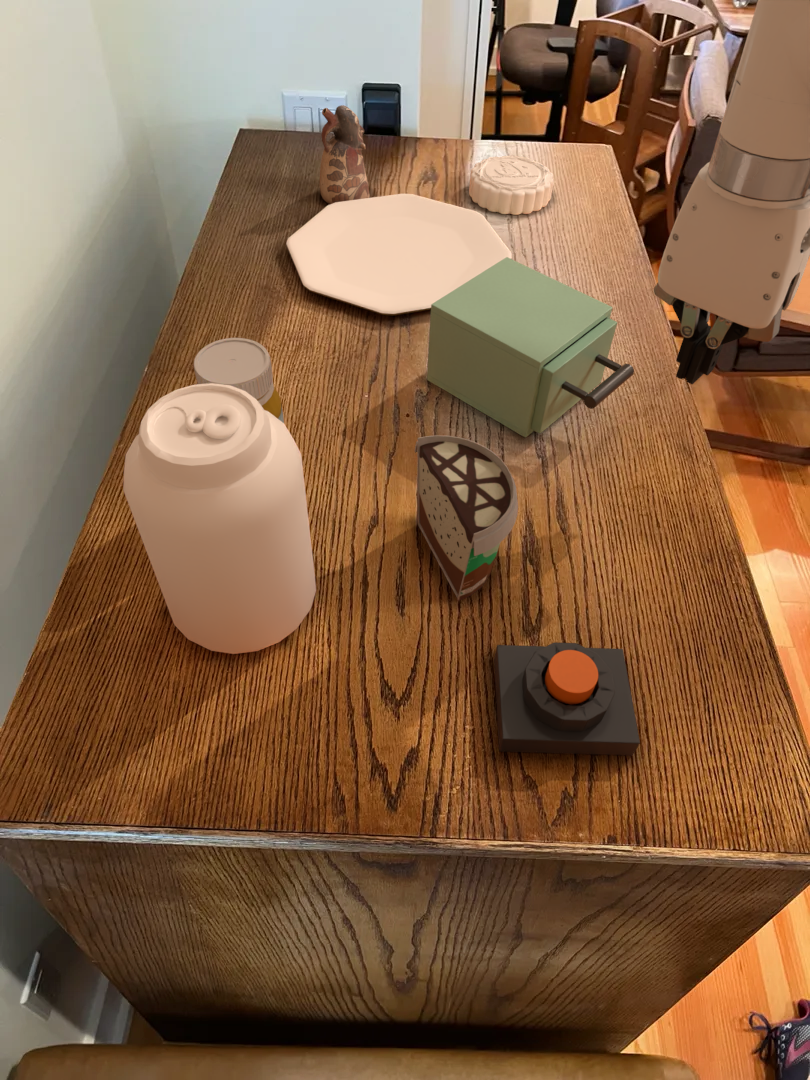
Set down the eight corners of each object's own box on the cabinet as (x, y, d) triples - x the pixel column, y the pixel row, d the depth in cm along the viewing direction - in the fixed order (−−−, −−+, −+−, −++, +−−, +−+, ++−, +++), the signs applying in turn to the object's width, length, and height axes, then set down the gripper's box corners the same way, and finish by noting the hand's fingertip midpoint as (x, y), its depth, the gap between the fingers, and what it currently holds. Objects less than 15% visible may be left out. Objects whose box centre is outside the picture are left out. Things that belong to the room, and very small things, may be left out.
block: (616, 662, 62) (628, 636, 59) (632, 756, 57) (647, 732, 54) (493, 658, 62) (499, 632, 59) (499, 751, 57) (505, 727, 54)
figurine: (373, 204, 110) (373, 115, 100) (324, 209, 108) (319, 119, 99) (364, 181, 114) (362, 94, 105) (316, 185, 113) (310, 97, 103)
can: (321, 540, 70) (304, 360, 54) (311, 659, 62) (288, 489, 47) (183, 538, 70) (127, 357, 54) (155, 657, 62) (80, 486, 46)
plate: (534, 237, 105) (536, 226, 104) (448, 344, 89) (449, 333, 88) (358, 189, 112) (358, 178, 111) (250, 280, 97) (249, 269, 95)
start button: (589, 662, 58) (594, 650, 57) (596, 705, 56) (601, 693, 55) (542, 660, 58) (546, 648, 57) (547, 703, 56) (551, 692, 55)
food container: (530, 593, 67) (549, 517, 59) (465, 614, 65) (477, 539, 57) (470, 495, 74) (481, 417, 66) (411, 512, 72) (415, 433, 65)
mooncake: (542, 175, 116) (545, 151, 114) (557, 215, 109) (562, 190, 106) (463, 176, 116) (465, 152, 113) (474, 216, 108) (476, 191, 105)
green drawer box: (593, 382, 85) (613, 306, 78) (525, 438, 79) (540, 362, 72) (496, 331, 91) (506, 256, 84) (426, 379, 85) (430, 304, 77)
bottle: (211, 471, 75) (180, 343, 64) (281, 454, 77) (263, 327, 65) (227, 522, 71) (197, 395, 59) (300, 503, 73) (285, 377, 61)
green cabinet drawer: (633, 399, 82) (653, 338, 76) (573, 453, 77) (589, 392, 71) (509, 334, 89) (519, 274, 83) (446, 380, 84) (451, 318, 78)
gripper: (890, 179, 53) (789, 390, 67) (696, 120, 60) (640, 323, 74) (848, 217, 50) (750, 432, 64) (646, 150, 56) (597, 358, 70)
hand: (691, 373), depth 69 cm, fingers closed
